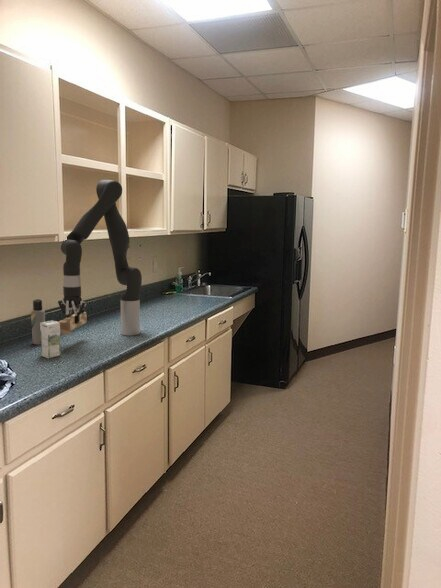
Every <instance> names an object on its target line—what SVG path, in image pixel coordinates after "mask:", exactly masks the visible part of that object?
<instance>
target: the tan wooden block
mask: <svg viewBox="0 0 441 588" xmlns="http://www.w3.org/2000/svg"><path fill="white" fill-rule="evenodd" d="M56 321H57V320H56ZM57 322H59V323H60V335H71V331H73V330H75V329H77V328H79V327H81V326H82V325H84V324H87V322H88V319H87V312H86V311H84V313H83V314H80V321H79V323H78V324H75V313H74V314H71V316H70V317H67V316H66V317H65V318H63V319H61V320H59V321H57Z"/></svg>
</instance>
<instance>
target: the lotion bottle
mask: <svg viewBox="0 0 441 588" xmlns="http://www.w3.org/2000/svg"><path fill="white" fill-rule="evenodd" d="M30 313H31V314H30V316H31V334H32V336H31V337H32V338H31V339H32V344H34V345H36V346H37V345H41V333H40V323H41V322H46V311H45V309H43V300H42V299H38V298H37V299H35V300H32V310H31V312H30Z"/></svg>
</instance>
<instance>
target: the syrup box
mask: <svg viewBox="0 0 441 588" xmlns="http://www.w3.org/2000/svg"><path fill="white" fill-rule="evenodd" d="M40 333H41V344H40V356H42V357H43V358H46V359H53V358H57V357H60V356H61V353H62V352H61V334H60V323H59V321H58V322H57V320H47V321H45V322H41V323H40Z"/></svg>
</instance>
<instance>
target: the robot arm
mask: <svg viewBox="0 0 441 588" xmlns="http://www.w3.org/2000/svg"><path fill="white" fill-rule="evenodd" d="M95 189H96V190H95V191H96V195H97V198H98V200H97V202H95V204H94V205H93V206H92V207H91V208H90V209H89V210H87V211H86V212H85V213H84V214H83V215H82V216H81V218H80V219H79V221H78V222H77V223H76V225H75V227H74V228H73V229H72V231H70V233H69V234H68V235H67V236H66V237H67V240H65V241H64V240H63V241H62V242H61V245H60V250H61V252H62V253H63V254H64V255H65V262H64V263H63V264H62V265H63V266H62V268H63V269H62V270H63V278H62V288H63V289H62V293H63V298H62V299H61V300H58V301H57V305H59V308H60V310H61V313H62V314H65V315H66V318H67V317H70V316H72V310H73V312H74V314H75V324H78V323H79V321H80V314H83V313H84V312H86V311H85V310H86V308H87V305H88V301H84V300H83V299H82V277H81V262H82V261H81V260H82V255H83V247H82V242H83V241H85V240H87V239H88V238H89V237H90V235H91V234H92V232H93V231H94V229H95V228H96V226H97V225H98V224H99V223H100V221H101V220H102V219H103V218H104V221H105V226H106V230H107V235H108V239H109V243H110V247H111V253H112V256H113V261H114V267H115V268H114V269H115V277H116V279H117V282H118V283H119V284H120V285H122V286H126V290H125V292H123V293H120V334H121V335H122V336H137V335H140V334H141V329H140V328H141V319H140V318H141V316H140V315H141V313H140V312H141V311H140V309H141V308H140V305H141V304H140V302H141V299H140V296H141V295H142V294H141V293H142V283H143V281H142V279H143V278H142V276H143V275H142V272H141V270H140V269H139V268H137V267H132V266H129V262H128V258H127V253H128V249H129V246H130V239H131V238H130V234H129V230H128V227H127V224H126V222H125V220H124V219H123V217H122V215H121V214H120V211H119V210H118V207H117V201H119V199H120V198H121V196H122V193H123V187H122V185H121V183H120V182H119V181H117V180H113V179H101V180H99V181H98V183H97V184H96V188H95Z"/></svg>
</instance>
